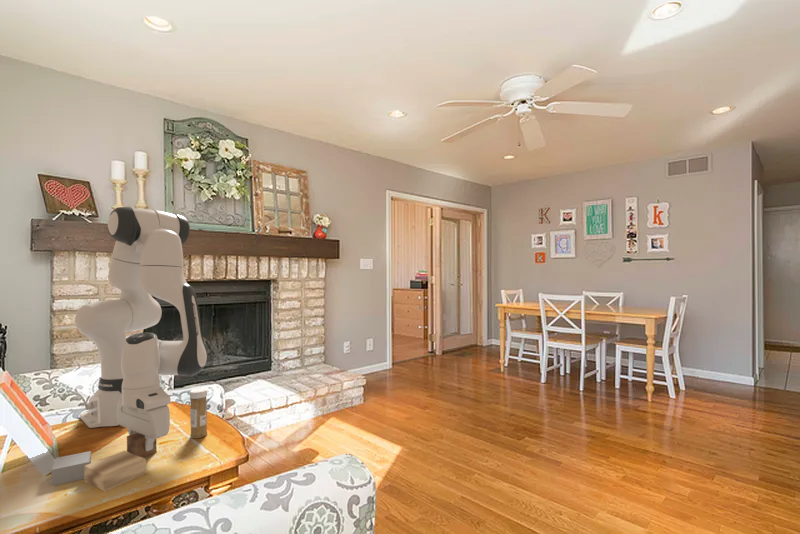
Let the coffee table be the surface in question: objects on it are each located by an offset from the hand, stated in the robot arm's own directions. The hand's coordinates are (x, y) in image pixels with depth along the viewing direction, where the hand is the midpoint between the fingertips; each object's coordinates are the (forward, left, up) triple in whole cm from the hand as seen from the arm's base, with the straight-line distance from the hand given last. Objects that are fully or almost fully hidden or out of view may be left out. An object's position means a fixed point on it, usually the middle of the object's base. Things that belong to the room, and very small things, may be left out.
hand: (141, 447), depth 114 cm
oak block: (+8, -10, -2) cm, 13 cm away
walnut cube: (0, 0, -2) cm, 2 cm away
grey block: (-2, -15, -2) cm, 15 cm away
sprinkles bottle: (+2, +15, -2) cm, 15 cm away
